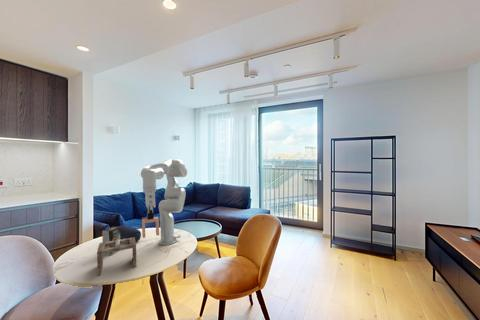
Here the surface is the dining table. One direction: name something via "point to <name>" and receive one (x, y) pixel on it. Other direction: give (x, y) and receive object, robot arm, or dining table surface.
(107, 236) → the coffee box
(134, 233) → the portable speaker
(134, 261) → the shelf
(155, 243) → the dining table surface
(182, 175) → the robot arm
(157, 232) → the tan and grey block
